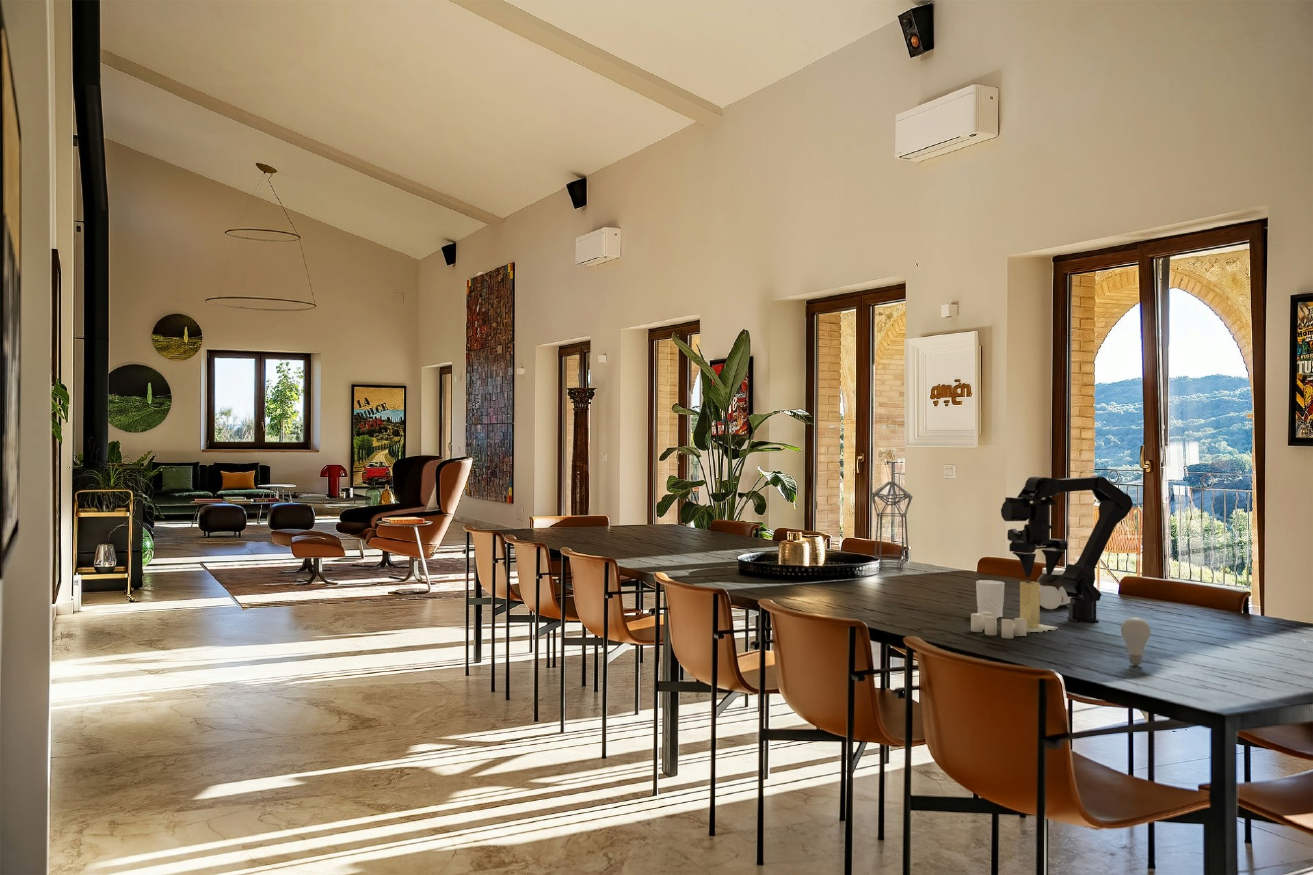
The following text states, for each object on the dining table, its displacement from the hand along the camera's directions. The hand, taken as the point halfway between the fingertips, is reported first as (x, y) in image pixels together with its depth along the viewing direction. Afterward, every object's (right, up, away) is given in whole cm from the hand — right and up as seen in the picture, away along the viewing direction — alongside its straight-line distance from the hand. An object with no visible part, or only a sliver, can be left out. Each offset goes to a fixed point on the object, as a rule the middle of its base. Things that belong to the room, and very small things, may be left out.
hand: (1038, 576), depth 285 cm
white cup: (-11, -13, +9) cm, 19 cm away
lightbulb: (+1, -13, -55) cm, 57 cm away
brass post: (-6, -12, -10) cm, 17 cm away
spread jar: (+14, -13, +26) cm, 33 cm away
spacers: (-18, -13, -17) cm, 28 cm away
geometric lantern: (-15, -13, +115) cm, 117 cm away
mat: (-6, -13, -10) cm, 17 cm away
